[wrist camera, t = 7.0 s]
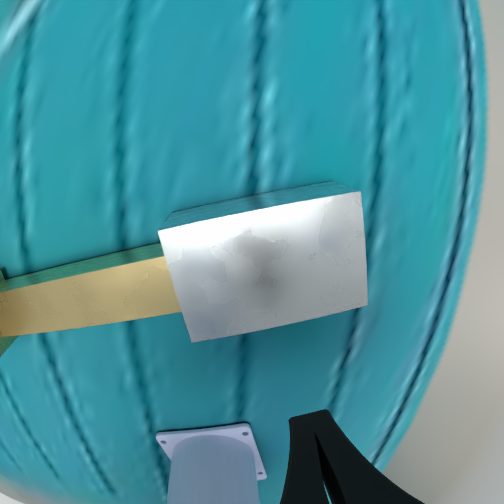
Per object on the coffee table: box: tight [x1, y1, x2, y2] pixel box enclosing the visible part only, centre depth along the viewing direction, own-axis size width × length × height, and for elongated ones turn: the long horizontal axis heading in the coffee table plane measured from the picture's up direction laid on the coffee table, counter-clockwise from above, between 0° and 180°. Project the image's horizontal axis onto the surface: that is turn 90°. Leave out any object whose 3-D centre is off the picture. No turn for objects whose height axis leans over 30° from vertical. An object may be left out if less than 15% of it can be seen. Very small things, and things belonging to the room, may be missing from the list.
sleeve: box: [158, 181, 368, 342], centre depth 16 cm, size 6×9×4 cm, turn 101°
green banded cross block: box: [0, 243, 182, 357], centre depth 14 cm, size 5×20×6 cm, turn 101°
